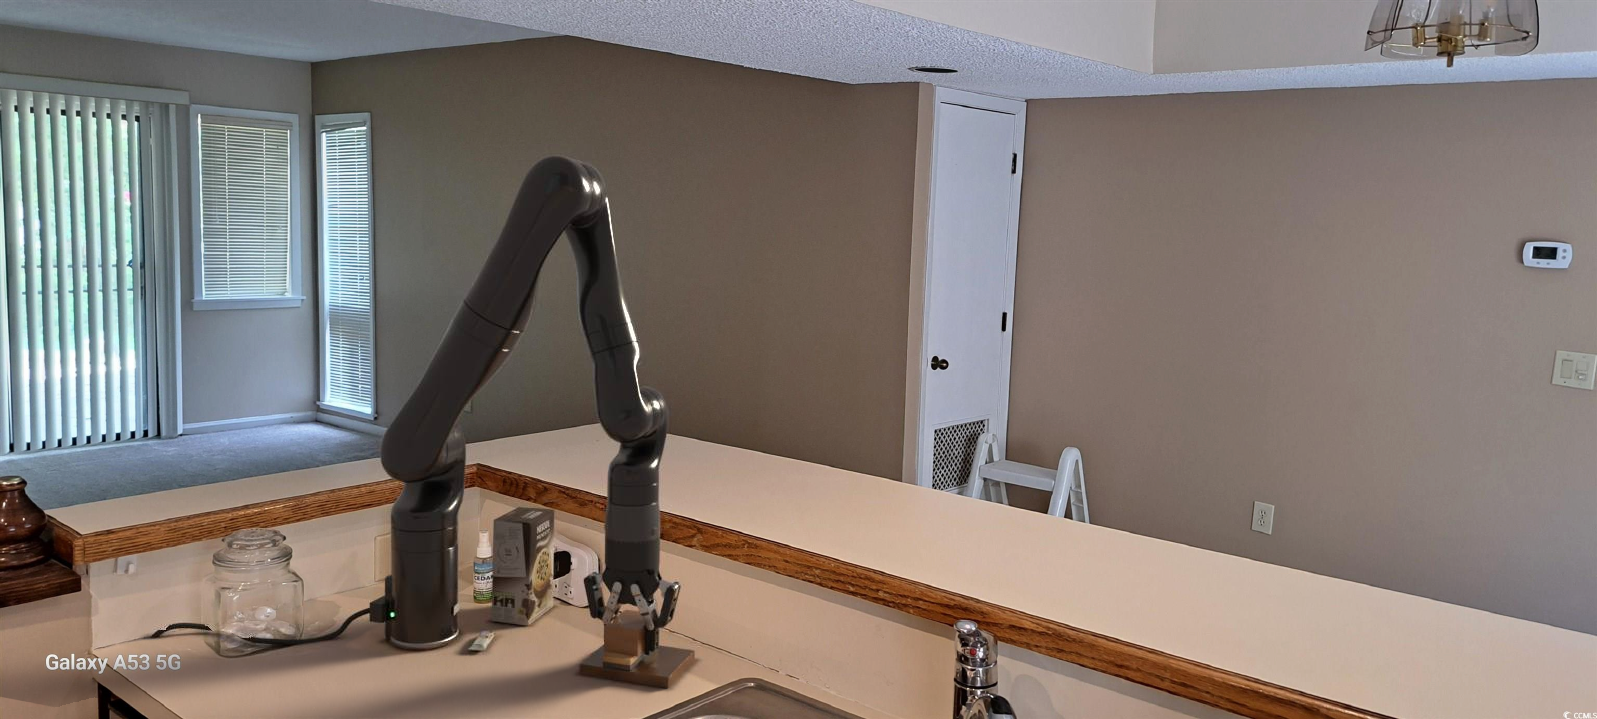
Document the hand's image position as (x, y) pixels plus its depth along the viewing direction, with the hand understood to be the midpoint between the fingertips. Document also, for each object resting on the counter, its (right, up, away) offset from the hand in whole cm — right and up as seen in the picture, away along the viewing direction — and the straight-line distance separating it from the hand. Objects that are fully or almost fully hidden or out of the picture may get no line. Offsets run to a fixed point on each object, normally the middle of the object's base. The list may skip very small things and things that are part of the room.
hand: (630, 649), depth 149 cm
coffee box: (-20, 0, +18) cm, 27 cm away
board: (+1, -2, 0) cm, 3 cm away
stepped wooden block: (0, -1, 0) cm, 1 cm away
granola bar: (-22, -1, +6) cm, 23 cm away
